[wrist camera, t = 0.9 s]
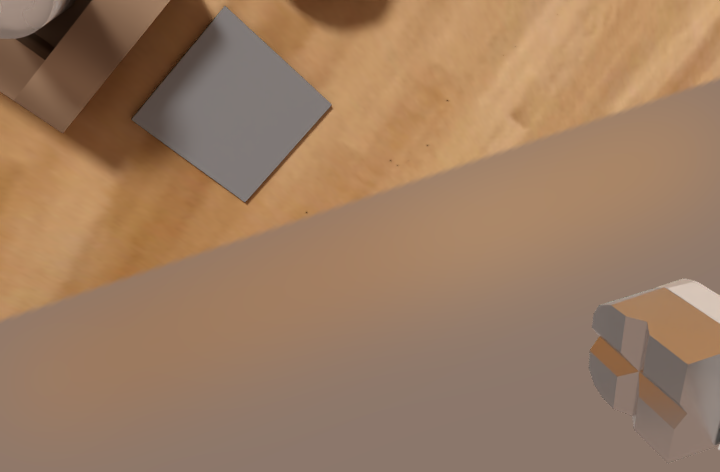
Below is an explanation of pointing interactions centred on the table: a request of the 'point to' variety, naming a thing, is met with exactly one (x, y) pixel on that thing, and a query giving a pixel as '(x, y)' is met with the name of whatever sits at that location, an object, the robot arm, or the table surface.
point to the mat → (232, 106)
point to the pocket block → (72, 56)
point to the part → (28, 15)
